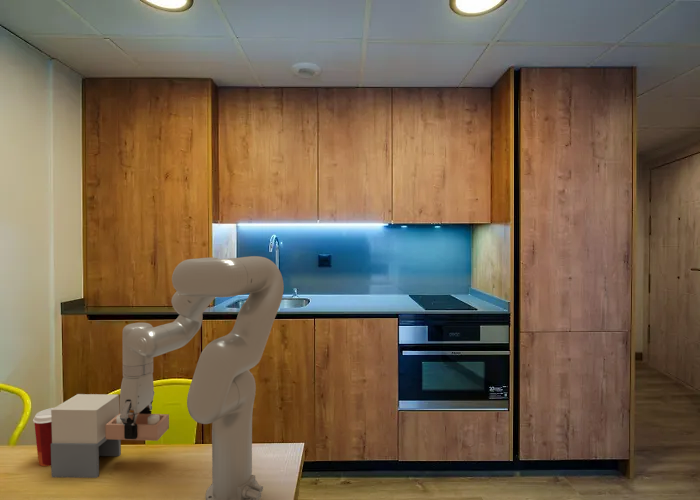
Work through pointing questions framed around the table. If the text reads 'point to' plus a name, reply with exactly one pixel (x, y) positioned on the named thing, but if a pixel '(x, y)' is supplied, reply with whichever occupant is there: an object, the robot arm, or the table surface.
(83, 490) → the table surface
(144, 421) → the tray
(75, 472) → the counter unit
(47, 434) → the paper cup
